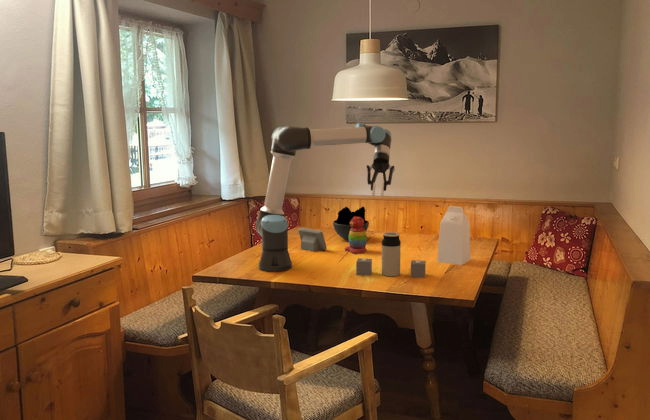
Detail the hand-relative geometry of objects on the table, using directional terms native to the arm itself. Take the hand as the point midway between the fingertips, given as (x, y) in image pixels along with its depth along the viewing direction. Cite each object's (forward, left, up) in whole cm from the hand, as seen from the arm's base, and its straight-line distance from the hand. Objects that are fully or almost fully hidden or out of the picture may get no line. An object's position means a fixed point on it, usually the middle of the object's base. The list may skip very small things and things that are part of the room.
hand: (377, 195), depth 267 cm
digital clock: (+5, +45, -32) cm, 55 cm away
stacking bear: (+15, +24, -32) cm, 43 cm away
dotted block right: (-5, -25, -32) cm, 41 cm away
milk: (+28, -24, -32) cm, 49 cm away
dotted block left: (-17, -5, -32) cm, 37 cm away
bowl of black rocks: (+35, +44, -32) cm, 65 cm away
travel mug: (-11, -15, -32) cm, 37 cm away
